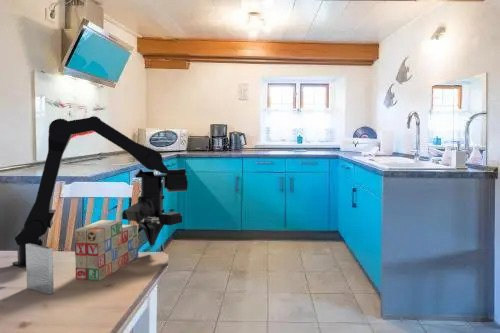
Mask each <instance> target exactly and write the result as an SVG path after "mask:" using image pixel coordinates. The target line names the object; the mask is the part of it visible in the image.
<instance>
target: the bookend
mask: <svg viewBox="0 0 500 333" xmlns="http://www.w3.org/2000/svg"><path fill="white" fill-rule="evenodd" d="M53 249H54V248H53V247H51V246H50V247H49V246H45V245H43V246H40V245H35V244H30V243H29V244H26V271H25V272H26V289H29V290H32V291H36V292H39V293H43V294H46V295H53V294H54V293H55V289H54V287H55V285H54V252H53Z"/></svg>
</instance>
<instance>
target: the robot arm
mask: <svg viewBox="0 0 500 333" xmlns="http://www.w3.org/2000/svg"><path fill="white" fill-rule="evenodd" d="M88 132H94V133H96V134H98V135H100V136H101V137H102V138H104V139H106V140H107V141H109V142H110V143H113V145H116V146H117V147H118V148H120V149H122V150H124V152H126V153H128V154H129V155H130V156H131V157H133V159H135V160H136V161H137V162H138V163H139V164H140V165H141V166H142V167H144V168H145V169H147V170H149V171H143V169H142V168H140V169H138V171H137V172H136V173H135V174H134V177H135V178H139V179H141V196H139V195H138V197H137V202H136V203H134V204H132V205H130V206H129V207H128V208H126V209H124V210H123V211H122V213H121V219H122V220H126V221H129V222H135V223H136V225H139V226H140V227H141V228H142V229H143V231H144V234H145V236H146V239H147V242H148V244H149V246H154V245H155V243H156V242H157V239H158V237H159V236H160V235H159V234H160V233H161V231H162V229H163V227H164V226H173V225H177V224H182V223H183V215H182V214H181V212H176V211H170V212H165V209H164V208H162V207H163V206H162V200H164V199H165V195H163V194H162V188H163V189H164V190H165V189H166V192H167V193H173V192H174V193H176V192H177V193H178V192H187V191H188V187H189V186H188V185H189V181H188V178H187V177H188V176H187V170H186V169H185V168H178V169H169V168H168V167H167V166H166V165H165V164H164V162H163V156H162V154H161V153H160V152H159V151H157V150H155V149H153V148H150V147H148V146H146V145H143V144H140V143H138V142H136V141H135V140H133V139H131V138H130V137H128V136H126V135H125V134H123V133H122V132H120V131H118V130H117V129H115V128H114V127H113V126H111V125H109V124H108V123H106V122H105V121H103V120H102V119H101V118H100V117H98V116H95V115H94V116H93V115H92V116H89V117H85V118H79V119H73V120H67V119H65V118H57V119H54V120H53V121H51V122H50V124H49V126H48V136H47V137H48V138H47V139H48V140H47V142H48V144H47V146H48V147H47V155H46V159H45V162H44V167H43V171H42V174H41V178H40V182H39V186H38V191H37V195H36V197H35V200H34V203H33V205H32V207H31V209H30V211H29V213H28V216H27V217H26V220H25V221H24V224H23V228H22V229H21V230H20V231H19V232H17V235H16V236H15V237H14V240H15V242H16V244H17V245H16V247H17V261H13V262H12V264H11V265H13V266H17V267H21V268H24V269H25V268H26V244H29V243H30V244H35V245H40V246H44V245H43V240H42V239H41V237H42V236H43V235H46V233H47V232H48V229H51V228H52V226H53V224H54V220H53V218H54V216H55V214H56V213H57V212H56V211H57V209H52V199H53V197H54V191H55V188H56V183H57V181H58V180H57V179H58V176H59V172H60V168H61V163H62V161H63V156H64V154H65V151H66V149H67V147H68V145H69V143H70V140H71V139H72V136H73V135H77V134H81V133H88ZM154 170H155V171H157V172H159V173H161V174H155V172H154Z"/></svg>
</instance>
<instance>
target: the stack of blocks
mask: <svg viewBox="0 0 500 333" xmlns="http://www.w3.org/2000/svg"><path fill="white" fill-rule="evenodd" d="M138 233H139V232H138V224H123V220H105V219H101V220H97V221H96V222H93V223H90V224H88V225H85V226H82V227H79V228H77V229H74V256H75V258H74V259H75V280H82V281H83V280H84V281H101V280H103V279H104V278H106V277H108V276H110V275H112V274H114V272H116V271H118V270H119V269H120V268H122V267H123V265H124V266H125V265H127V264H128V263H131V261H134V260H135V259H137V258H139V236H138Z"/></svg>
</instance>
